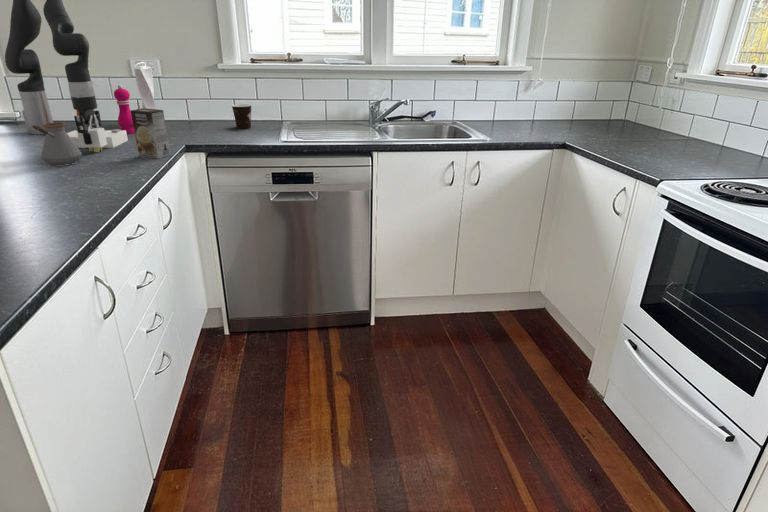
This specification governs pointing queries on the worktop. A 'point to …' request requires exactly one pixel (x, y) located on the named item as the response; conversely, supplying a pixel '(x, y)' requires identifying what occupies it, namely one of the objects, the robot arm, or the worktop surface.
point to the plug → (93, 139)
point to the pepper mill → (124, 110)
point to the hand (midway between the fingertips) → (93, 142)
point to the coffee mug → (242, 115)
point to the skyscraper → (145, 86)
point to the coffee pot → (58, 145)
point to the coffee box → (150, 133)
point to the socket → (112, 138)
